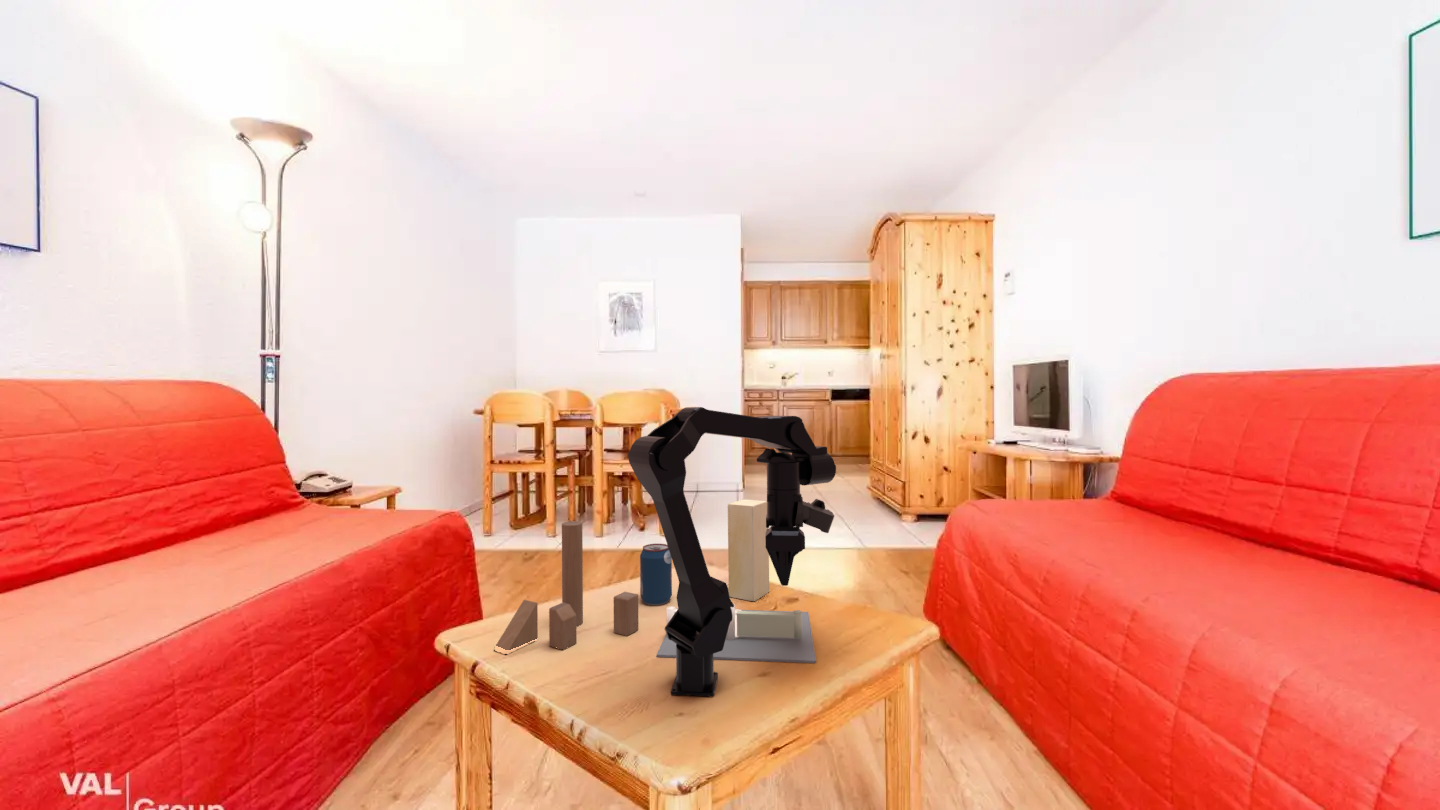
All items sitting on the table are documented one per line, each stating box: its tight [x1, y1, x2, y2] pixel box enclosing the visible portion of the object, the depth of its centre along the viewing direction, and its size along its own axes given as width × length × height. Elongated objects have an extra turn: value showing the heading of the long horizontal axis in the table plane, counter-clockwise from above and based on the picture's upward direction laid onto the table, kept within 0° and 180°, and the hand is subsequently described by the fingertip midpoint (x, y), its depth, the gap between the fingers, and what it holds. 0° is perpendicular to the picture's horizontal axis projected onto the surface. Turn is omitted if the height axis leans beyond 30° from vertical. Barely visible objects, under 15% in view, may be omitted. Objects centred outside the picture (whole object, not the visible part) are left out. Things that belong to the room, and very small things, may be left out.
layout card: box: [655, 603, 817, 664], centre depth 103 cm, size 22×27×6 cm
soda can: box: [639, 543, 673, 606], centre depth 121 cm, size 7×7×12 cm
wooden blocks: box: [495, 520, 639, 650], centre depth 101 cm, size 17×20×20 cm
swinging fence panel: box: [737, 609, 803, 639], centre depth 100 cm, size 2×12×4 cm, turn 84°
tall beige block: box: [727, 499, 770, 602], centre depth 125 cm, size 8×7×21 cm
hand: (784, 578), depth 94 cm, fingers open, 7 cm apart
